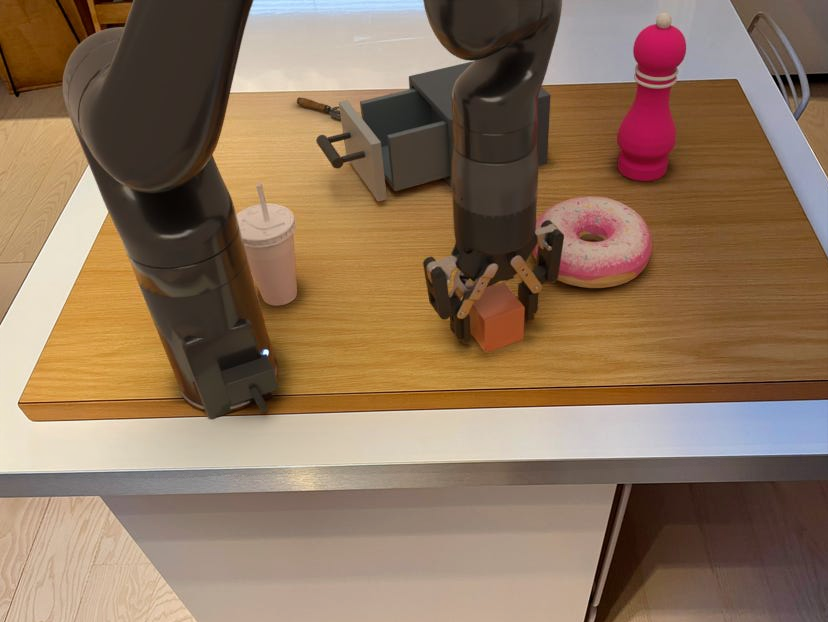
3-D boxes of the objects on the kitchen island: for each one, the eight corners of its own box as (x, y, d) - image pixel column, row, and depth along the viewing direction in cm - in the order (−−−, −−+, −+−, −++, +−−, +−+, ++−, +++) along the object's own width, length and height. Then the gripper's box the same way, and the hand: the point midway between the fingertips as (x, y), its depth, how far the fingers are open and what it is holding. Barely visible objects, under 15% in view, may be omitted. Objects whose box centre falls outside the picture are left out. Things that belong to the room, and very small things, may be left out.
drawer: (345, 211, 98) (336, 153, 93) (315, 165, 106) (305, 109, 100) (470, 175, 103) (469, 119, 98) (433, 134, 111) (430, 79, 105)
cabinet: (452, 190, 103) (449, 120, 96) (413, 143, 111) (408, 75, 104) (547, 163, 107) (550, 94, 100) (502, 120, 115) (503, 53, 108)
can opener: (296, 106, 118) (295, 98, 117) (307, 99, 120) (306, 92, 119) (344, 123, 115) (343, 115, 114) (355, 116, 116) (354, 109, 115)
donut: (551, 308, 87) (554, 271, 83) (514, 235, 96) (515, 199, 92) (668, 285, 89) (676, 248, 86) (621, 216, 98) (626, 180, 95)
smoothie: (297, 317, 86) (272, 206, 76) (240, 309, 87) (208, 198, 77) (317, 279, 91) (296, 169, 81) (263, 272, 92) (235, 162, 82)
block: (523, 339, 83) (524, 307, 80) (484, 353, 82) (484, 320, 79) (503, 313, 86) (504, 281, 83) (466, 326, 85) (465, 294, 82)
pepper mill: (668, 155, 108) (695, 0, 94) (672, 185, 103) (700, 27, 89) (613, 152, 109) (631, -1, 94) (614, 182, 104) (633, 25, 89)
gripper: (438, 233, 67) (446, 373, 79) (587, 187, 72) (574, 327, 84) (402, 188, 72) (415, 326, 84) (544, 147, 77) (538, 285, 88)
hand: (494, 326), depth 84 cm, fingers open, 6 cm apart
